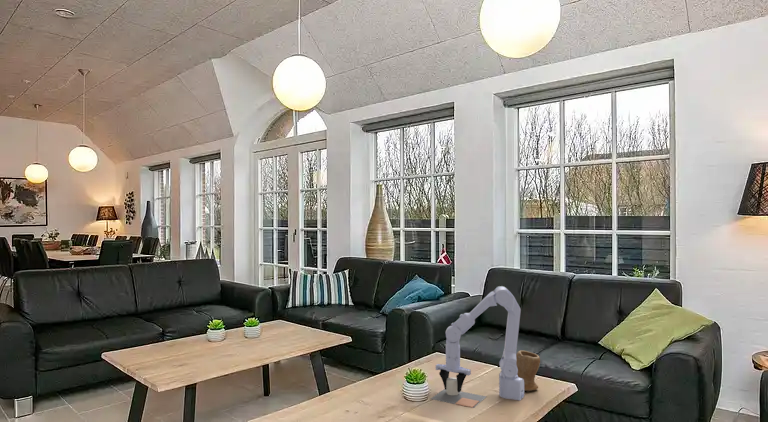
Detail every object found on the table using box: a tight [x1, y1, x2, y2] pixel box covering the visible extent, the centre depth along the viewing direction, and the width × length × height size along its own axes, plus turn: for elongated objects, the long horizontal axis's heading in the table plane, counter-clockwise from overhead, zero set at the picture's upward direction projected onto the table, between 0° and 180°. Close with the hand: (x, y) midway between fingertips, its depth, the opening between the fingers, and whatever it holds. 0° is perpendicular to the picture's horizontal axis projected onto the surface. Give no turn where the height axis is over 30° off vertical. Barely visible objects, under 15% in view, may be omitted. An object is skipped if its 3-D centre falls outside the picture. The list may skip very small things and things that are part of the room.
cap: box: [446, 376, 460, 395], centre depth 206 cm, size 5×5×6 cm
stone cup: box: [516, 349, 541, 392], centre depth 217 cm, size 15×12×15 cm
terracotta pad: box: [454, 398, 480, 409], centre depth 195 cm, size 7×7×1 cm
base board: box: [430, 388, 487, 409], centre depth 201 cm, size 18×14×1 cm
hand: (452, 390), depth 206 cm, fingers closed on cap, 5 cm apart
